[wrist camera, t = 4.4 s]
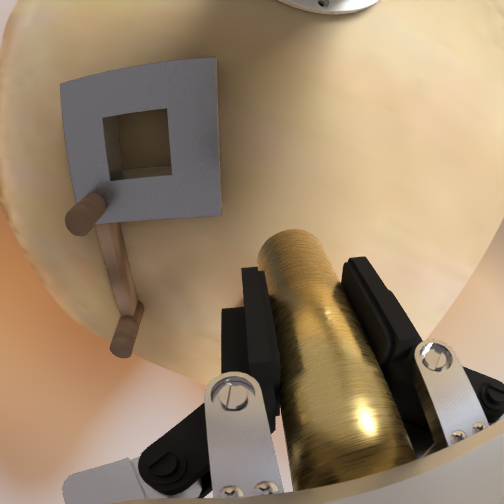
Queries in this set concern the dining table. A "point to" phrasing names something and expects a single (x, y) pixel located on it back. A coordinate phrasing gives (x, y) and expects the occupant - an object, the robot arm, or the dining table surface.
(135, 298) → the brown drawer handle
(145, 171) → the collar block
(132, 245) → the dining table surface
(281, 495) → the robot arm
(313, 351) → the pin
